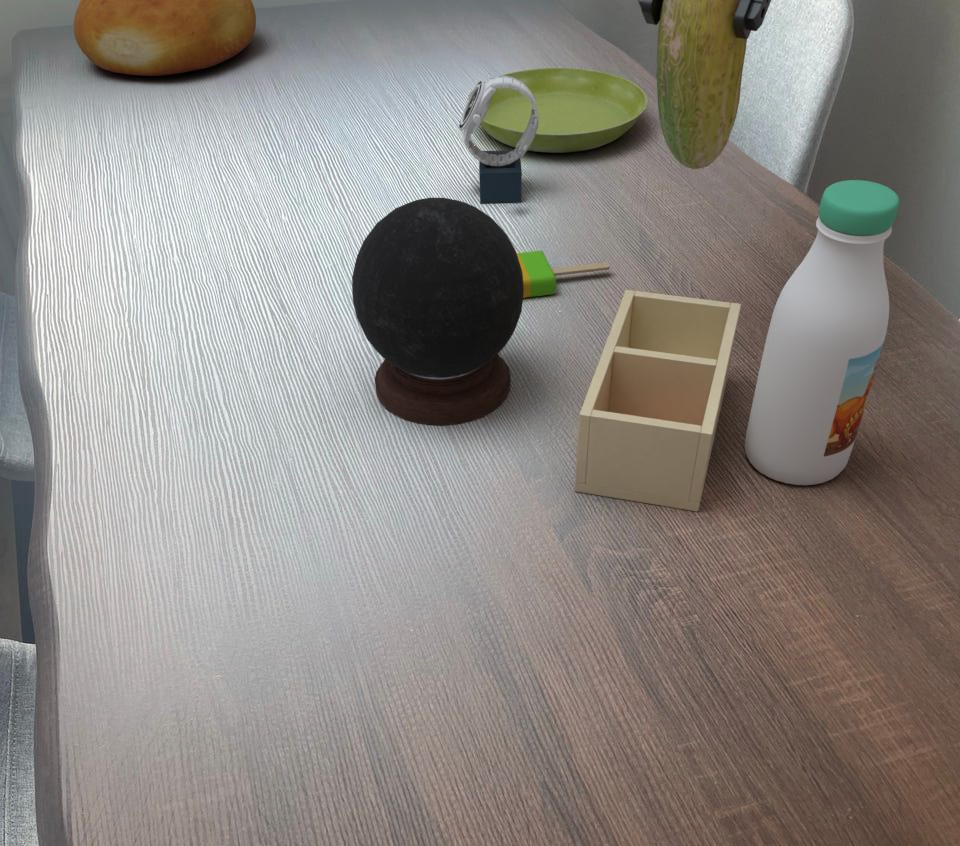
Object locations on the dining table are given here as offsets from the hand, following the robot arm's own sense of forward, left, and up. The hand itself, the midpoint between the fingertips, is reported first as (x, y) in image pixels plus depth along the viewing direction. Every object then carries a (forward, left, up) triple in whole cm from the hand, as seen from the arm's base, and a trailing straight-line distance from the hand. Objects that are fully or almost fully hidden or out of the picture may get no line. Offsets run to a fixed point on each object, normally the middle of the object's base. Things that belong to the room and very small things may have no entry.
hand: (693, 24), depth 69 cm
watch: (+21, -26, -25) cm, 42 cm away
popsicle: (+13, -8, -25) cm, 30 cm away
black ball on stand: (+16, +10, -25) cm, 31 cm away
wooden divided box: (-2, +12, -25) cm, 28 cm away
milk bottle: (-13, +12, -25) cm, 31 cm away
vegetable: (-1, -2, -10) cm, 11 cm away
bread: (+75, -56, -25) cm, 97 cm away
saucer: (+19, -44, -25) cm, 54 cm away
